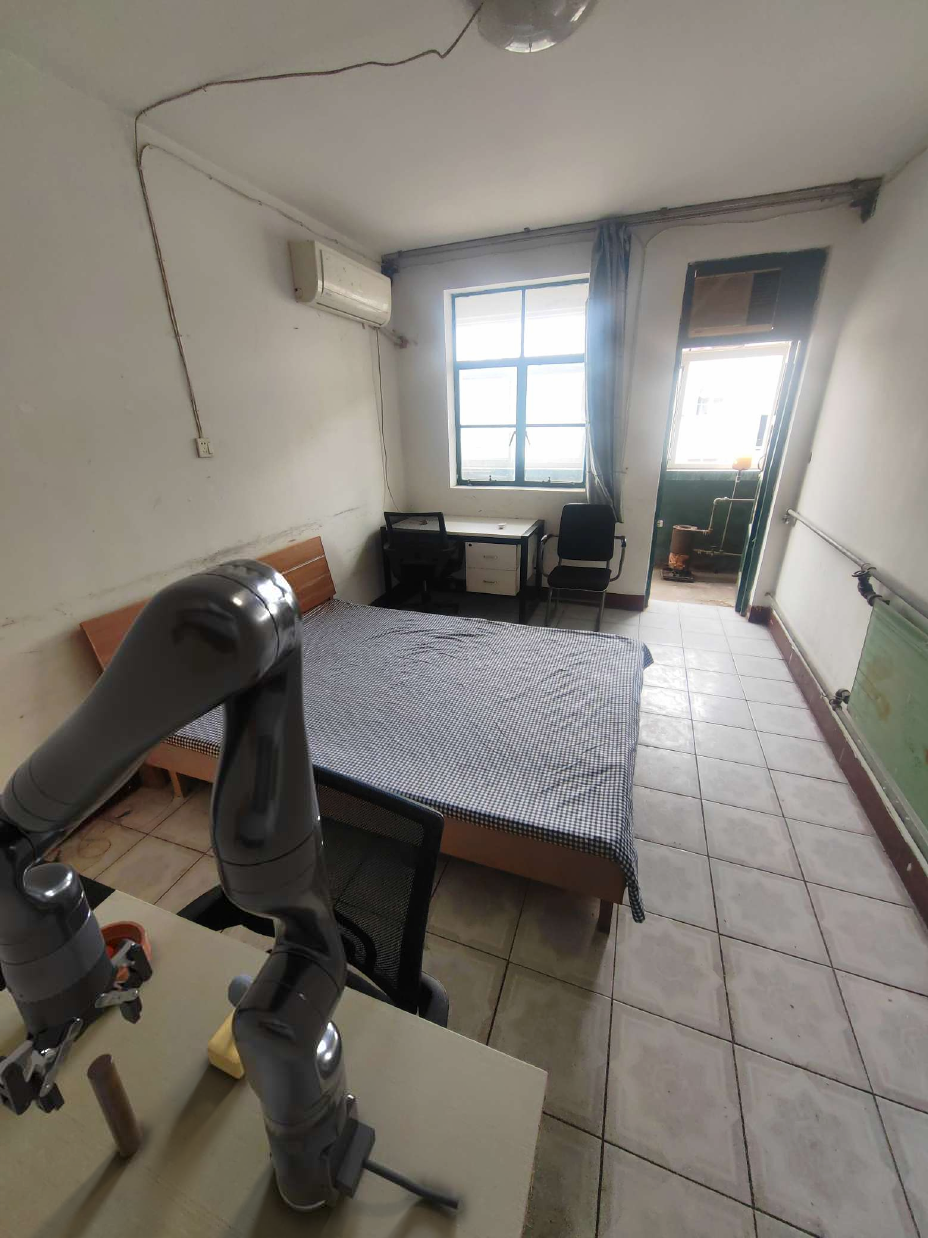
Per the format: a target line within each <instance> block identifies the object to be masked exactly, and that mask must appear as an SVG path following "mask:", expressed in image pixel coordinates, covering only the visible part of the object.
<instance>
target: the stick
mask: <svg viewBox="0 0 928 1238" xmlns="http://www.w3.org/2000/svg"><path fill="white" fill-rule="evenodd" d="M86 1076H87V1078H88V1081H89V1084H90V1087H91V1088H92V1091H93V1093H94V1096H95V1099H96V1101H97V1103H98V1105H99V1107H100V1110H101V1113H102V1114H103V1117H104V1120H105V1122H106V1125H107V1127H108V1129H109V1131H110V1134H111V1136H112V1139H113V1141H114V1143H115V1146H116V1148H117V1150H118V1153H119V1156H121V1157H122V1158H128V1157H130V1156H132V1155H133V1154H135V1152H136V1151H137V1150H138V1149H139V1147H140V1146H141V1144H142V1140H143V1133H142V1131H141V1129H140V1125H139V1122H138V1121H137V1118H136V1115H135V1112H134V1110H133V1107H132V1105H131V1102H130V1100H129V1099H130V1098H129V1097H128V1095H127V1092H126V1089H125V1086H124V1084H123V1081H122V1079H121V1076H120V1074H119V1070H118V1068H117V1066H116V1062H115V1060H114V1057H113V1056H112V1054H110V1053H103V1054H101V1055H99V1056H98V1057H96V1058H95V1059H94V1060H93V1061H91V1063H90V1064H89V1066H88V1068H87V1072H86Z"/></svg>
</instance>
